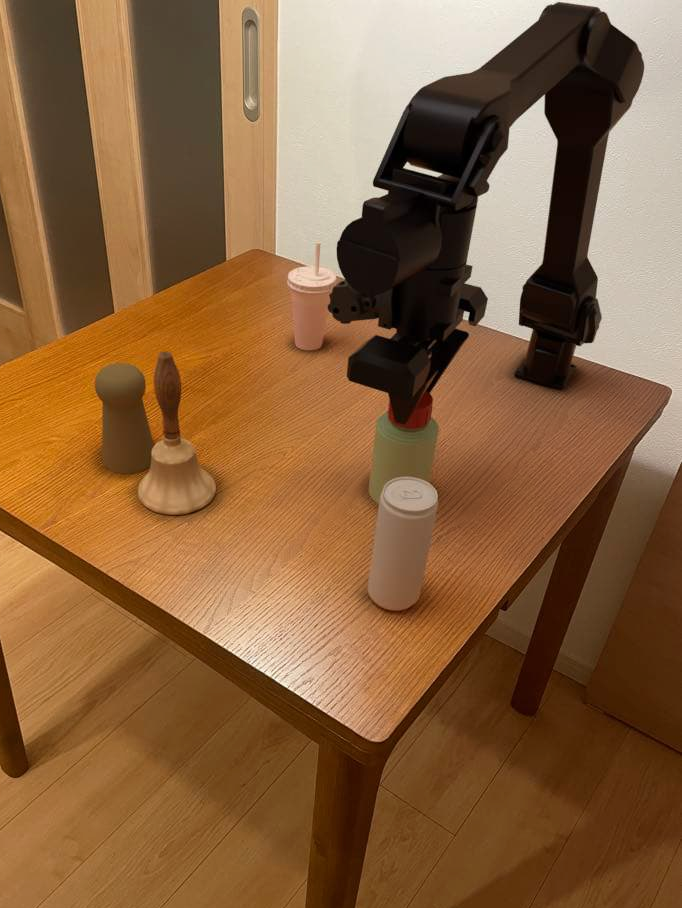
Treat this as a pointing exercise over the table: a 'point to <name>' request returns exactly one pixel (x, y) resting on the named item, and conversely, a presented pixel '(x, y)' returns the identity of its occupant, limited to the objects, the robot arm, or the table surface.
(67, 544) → the table surface
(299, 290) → the smoothie
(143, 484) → the hand bell
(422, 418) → the bottle cap
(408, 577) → the beverage can
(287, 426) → the table surface
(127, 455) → the cork
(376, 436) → the sauce bottle
